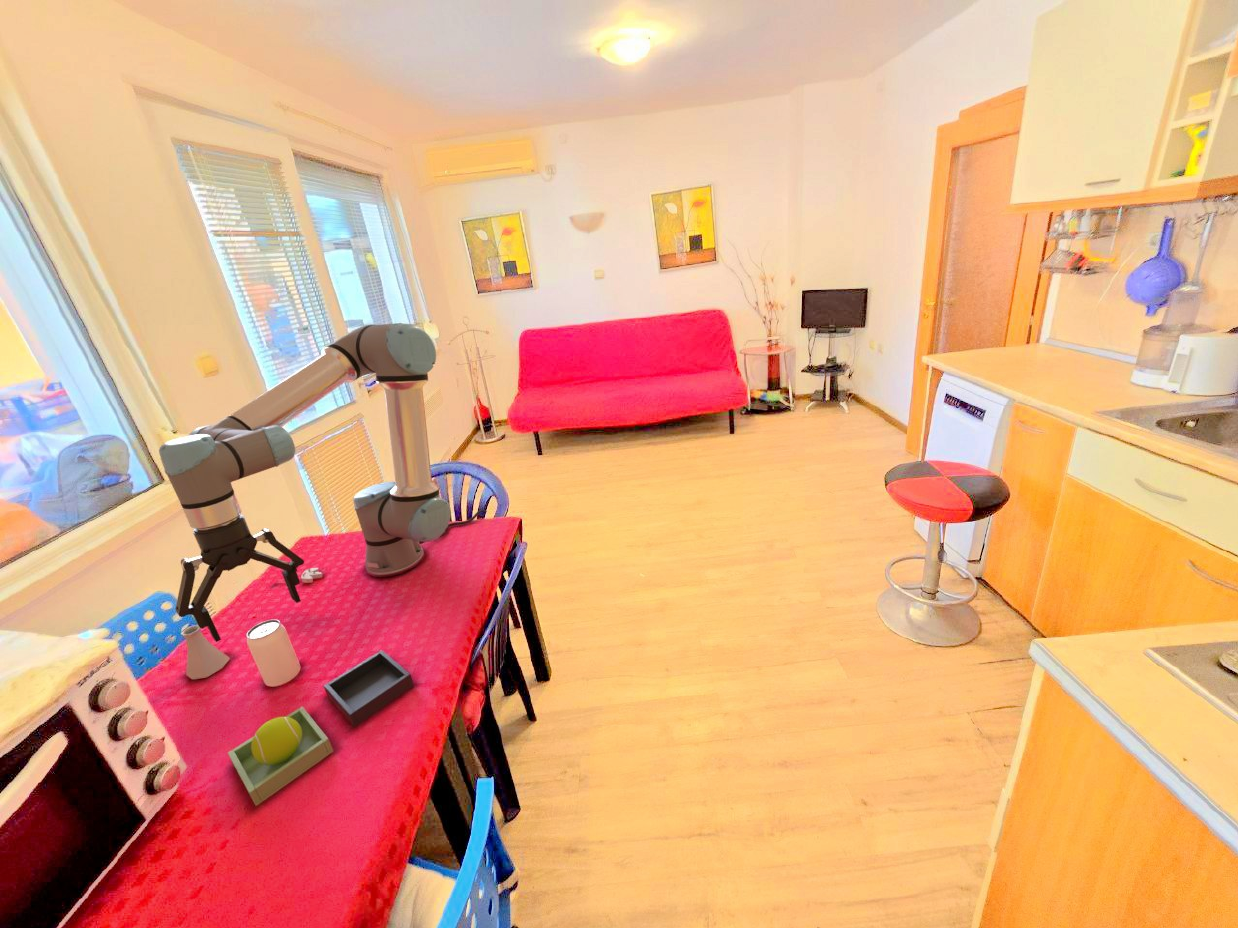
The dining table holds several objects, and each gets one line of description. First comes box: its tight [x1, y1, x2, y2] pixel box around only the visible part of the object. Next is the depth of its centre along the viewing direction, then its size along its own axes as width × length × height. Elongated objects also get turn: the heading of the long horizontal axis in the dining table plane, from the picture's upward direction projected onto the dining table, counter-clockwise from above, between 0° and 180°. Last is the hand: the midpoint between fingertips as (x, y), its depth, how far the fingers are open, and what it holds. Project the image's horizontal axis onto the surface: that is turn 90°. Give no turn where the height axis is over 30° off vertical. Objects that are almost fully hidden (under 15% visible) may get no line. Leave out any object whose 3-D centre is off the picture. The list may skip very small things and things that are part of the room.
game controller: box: [277, 567, 323, 584], centre depth 136 cm, size 6×12×3 cm, turn 121°
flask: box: [180, 624, 231, 680], centre depth 106 cm, size 7×7×10 cm
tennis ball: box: [251, 716, 302, 765], centre depth 84 cm, size 7×7×7 cm
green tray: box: [227, 706, 334, 807], centre depth 84 cm, size 12×12×3 cm
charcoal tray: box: [323, 649, 415, 728], centre depth 97 cm, size 12×12×3 cm
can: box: [246, 619, 302, 688], centre depth 101 cm, size 6×6×12 cm
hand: (258, 618), depth 98 cm, fingers open, 13 cm apart
